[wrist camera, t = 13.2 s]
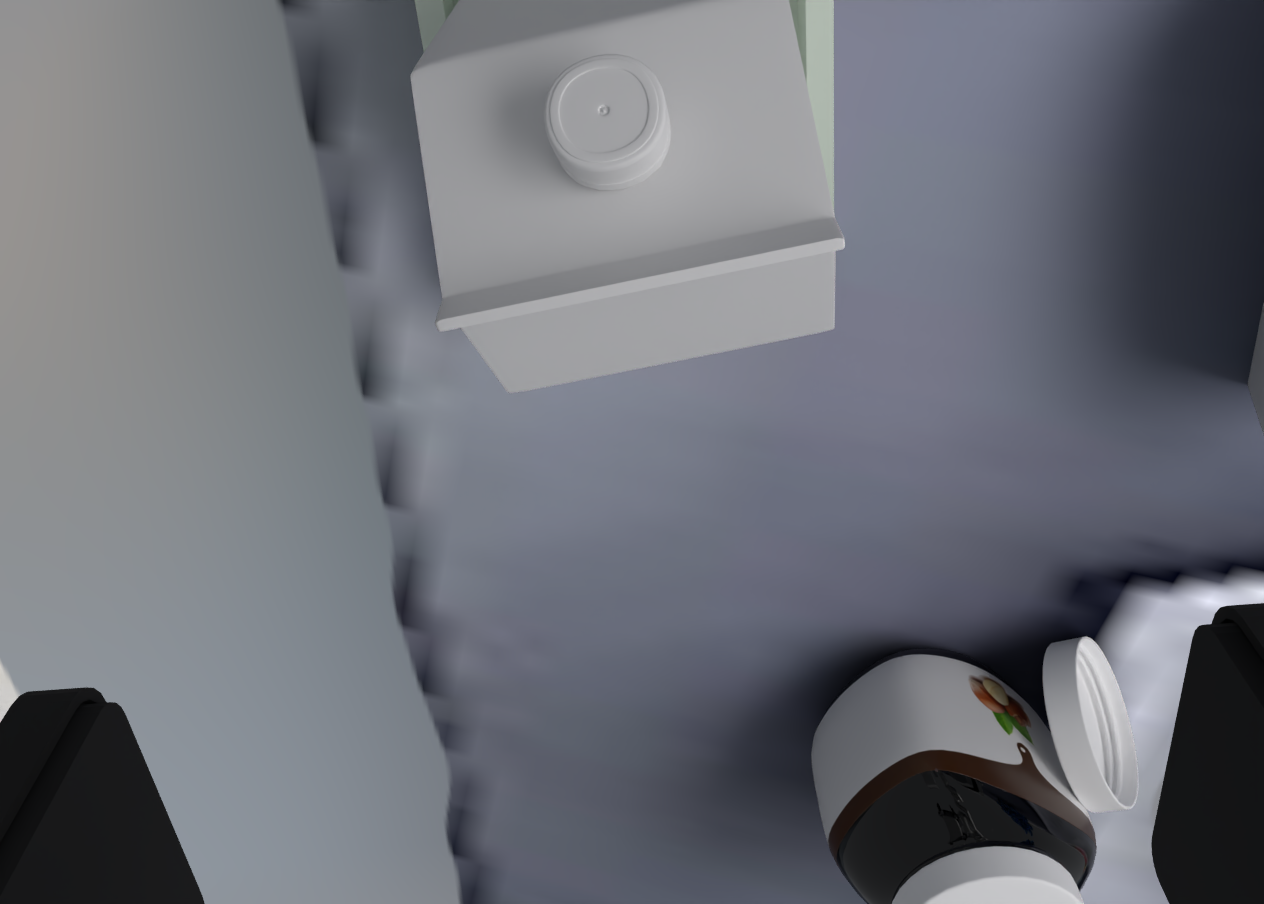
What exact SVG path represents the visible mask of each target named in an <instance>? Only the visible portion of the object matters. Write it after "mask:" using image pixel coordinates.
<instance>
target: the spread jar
mask: <svg viewBox="0 0 1264 904" xmlns="http://www.w3.org/2000/svg"><path fill="white" fill-rule="evenodd" d="M1043 691H1044V699H1045V706H1046V712H1047V717H1048V722H1049V727H1050V731H1051V733H1050V731H1049V730H1048V729H1047V727H1046V726H1045V724H1044V723H1043V721H1042V720H1041V719H1040V717H1039V716H1038V715H1037V713H1036V712H1035V711H1034V710H1033V709H1032V708H1031V706H1030V705H1029V704H1028V703H1027V702H1026V701H1025V700H1024V699H1023V698H1022V697H1021V696H1020V695H1019V694H1018V693H1017V692H1016V691H1015V690H1014V689H1013V688H1012V687H1011V686H1010V685H1009V684H1008V683H1007V682H1006V681H1005V680H1003V679H1002V678H1001V677H1000V676H998V675H997V674H996V673H995V672H994V671H992V670H991V669H990V668H988V667H987V666H985V665H984V664H982V663H980V662H978V661H977V660H974V659H972V658H970V657H968V656H965V655H962V654H959V653H956V652H952V651H947V650H942V649H933V648H918V649H910V650H904V651H901V652H897V653H894V654H892V655H889V656H887V657H885V658H883V659H881V660H879V661H877V662H876V663H874V664H872V665H871V666H869V667H868V668H866V669H865V670H864V671H862V672H861V673H860V674H858V675H857V676H856V677H855V678H854V679H853V680H852V681H851V682H850V683H849V684H848V685H847V686H846V687H845V688H844V689H843V690H842V691H841V692H840V693H839V694H838V695H837V697H836V698H835V699H834V700H833V702H832V703H831V705H830V706H829V708H828V709H827V711H826V713H825V714H824V716H823V718H822V720H821V722H820V724H819V726H818V728H817V729H816V732H815V735H814V739H813V745H812V752H811V758H812V770H813V777H814V783H815V789H816V794H817V799H818V805H819V810H820V815H821V819H822V823H823V828H824V832H825V836H826V839H827V842H828V845H829V848H830V851H831V853H832V855H833V857H834V859H835V861H836V863H837V866H838V867H839V869H840V871H841V872H842V874H843V875H844V877H845V878H846V879H847V881H848V882H849V883H850V885H851V886H852V887H853V888H854V890H855V891H856V892H857V894H858V895H859V896H860V897H861V898H862V899H863V900H864V901H865V902H866V903H867V904H1084V902H1083V899H1082V897H1081V894H1080V891H1081V889H1082V888H1083V886H1084V884H1085V882H1086V880H1087V878H1088V876H1089V875H1090V873H1091V871H1092V868H1093V865H1094V860H1095V856H1096V848H1097V847H1096V839H1095V832H1094V829H1093V826H1092V822H1091V819H1090V816H1089V814H1088V811H1087V810H1089V811H1090V812H1092V813H1102V812H1111V811H1120V810H1128V809H1131V808H1132V807H1133V806H1134V805H1135V802H1136V800H1137V794H1138V765H1137V757H1136V749H1135V744H1134V739H1133V734H1132V729H1131V725H1130V721H1129V717H1128V713H1127V710H1126V706H1125V703H1124V700H1123V697H1122V694H1121V691H1120V688H1119V685H1118V683H1117V680H1116V678H1115V675H1114V673H1113V671H1112V669H1111V667H1110V664H1109V662H1108V660H1107V659H1106V657H1105V655H1104V653H1103V652H1102V650H1101V649H1100V647H1099V646H1098V645H1097V643H1096V642H1094V641H1093V640H1092V639H1091V638H1089V637H1087V636H1085V637H1080V638H1075V639H1070V640H1065V641H1060V642H1055V643H1051V644H1050V645H1049V646H1048V648H1047V649H1046V652H1045V655H1044V661H1043Z"/></svg>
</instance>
